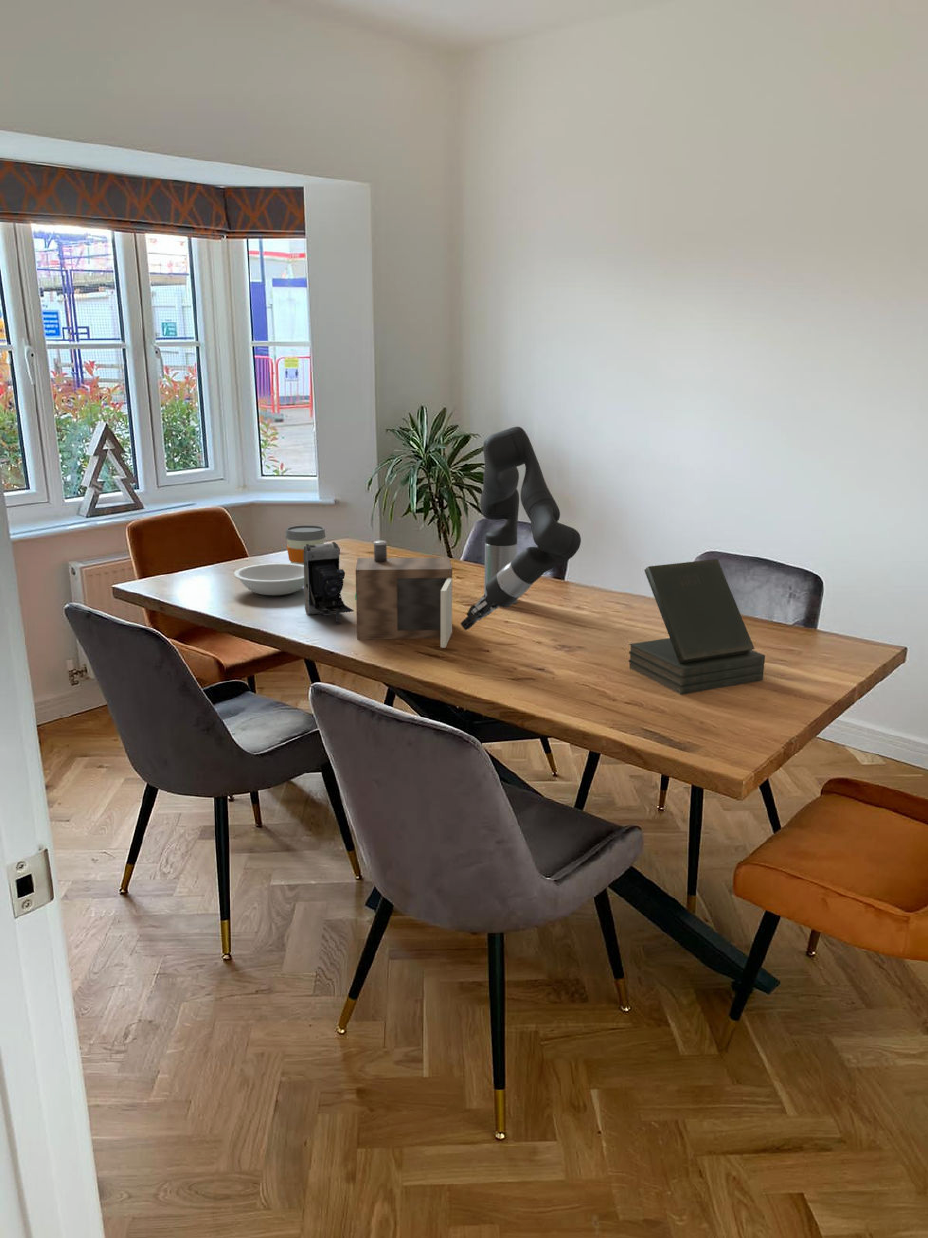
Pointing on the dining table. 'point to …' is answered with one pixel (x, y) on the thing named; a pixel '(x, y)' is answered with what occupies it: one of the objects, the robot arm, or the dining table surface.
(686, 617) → the stack of books
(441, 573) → the walnut box
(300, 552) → the reusable coffee cup
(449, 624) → the side door
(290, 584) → the soup bowl
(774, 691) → the dining table surface
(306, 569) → the vintage camera
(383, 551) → the film canister
